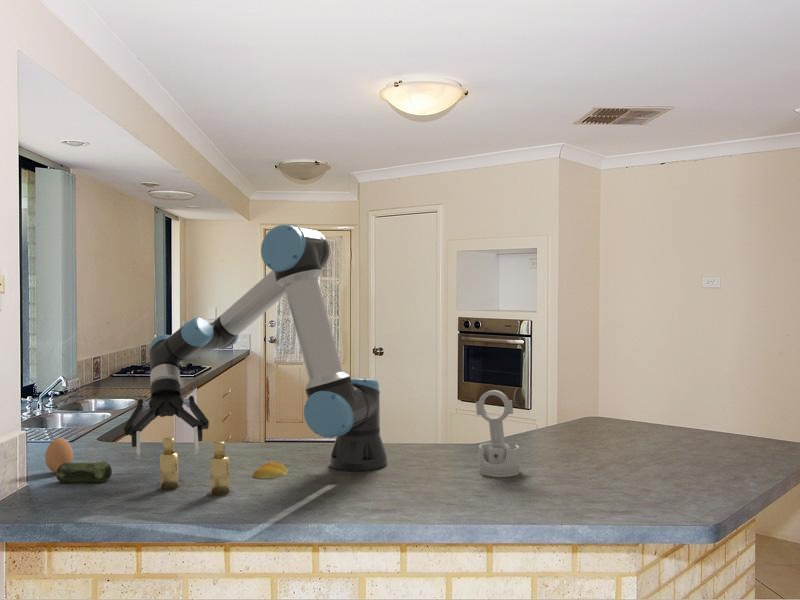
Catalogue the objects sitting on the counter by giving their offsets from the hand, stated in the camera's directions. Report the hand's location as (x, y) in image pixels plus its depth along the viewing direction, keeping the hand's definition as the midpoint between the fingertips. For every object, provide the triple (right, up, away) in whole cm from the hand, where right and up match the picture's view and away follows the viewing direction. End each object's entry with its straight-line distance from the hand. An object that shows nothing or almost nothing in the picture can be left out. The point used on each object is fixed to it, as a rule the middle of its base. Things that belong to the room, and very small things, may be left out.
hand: (168, 454), depth 168 cm
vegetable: (-23, -8, +4) cm, 24 cm away
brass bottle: (+3, -6, -9) cm, 11 cm away
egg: (-33, -8, +13) cm, 37 cm away
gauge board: (+10, -7, -12) cm, 17 cm away
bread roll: (+25, -7, +3) cm, 26 cm away
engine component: (+81, -6, +5) cm, 82 cm away
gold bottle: (+16, -6, -14) cm, 22 cm away
